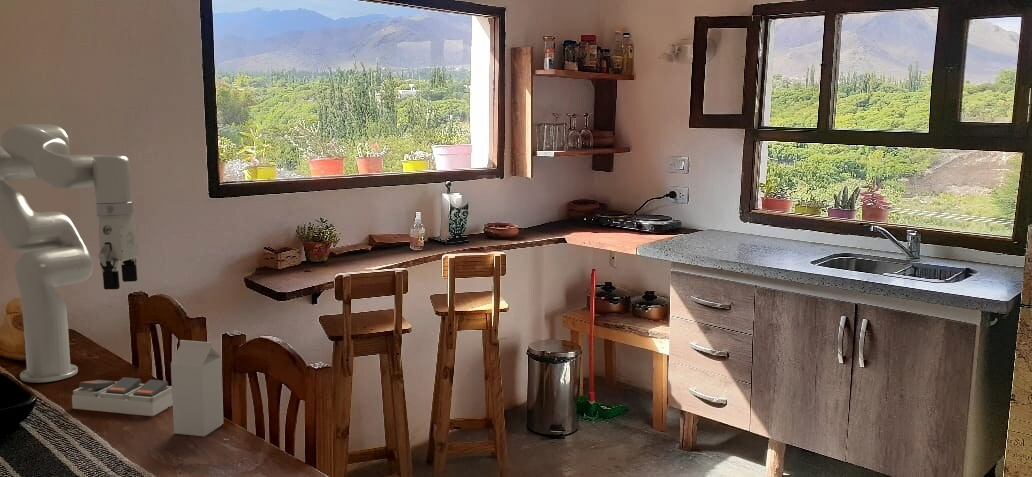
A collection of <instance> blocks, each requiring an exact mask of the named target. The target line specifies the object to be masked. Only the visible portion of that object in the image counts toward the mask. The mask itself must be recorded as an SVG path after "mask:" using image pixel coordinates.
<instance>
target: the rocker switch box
mask: <svg viewBox="0 0 1032 477" xmlns="http://www.w3.org/2000/svg"><path fill="white" fill-rule="evenodd" d="M117 382H118V381H116V380H115V383H117ZM144 384H145V383H140V384H139V385H138V386H137V387H135V388H134V389H133V390H132V391H130V392H128V393H126V394H113V393H106V390H108V389H109V388H110V387H112V386H113V385H114V384H113V385H111V386H109V387H104V388H98V389H94V388H83V387H78V388H75V389H74V390H72V395H71V403H72V404H71V405H72V409H74V410H85V411H96V412H103V413H104V412H107V413H116V414H117V413H118V414H125V415H136V416H148V417H154V416H156V415H157V414H159V413H161V412H163V411H165V410H167V409H169V408H171V407H173V401H172V385H170V386H169V385H168V386H166V387H165V388H164V389H163V390H162V391H161V392H159V393H158V394H157V395H155V396H153V397H146V396H135V395H134V394H133V393H134V392H136V391H137V390H138V389H139V388H140V387H142V386H143V385H144ZM168 407H169V408H168Z"/></svg>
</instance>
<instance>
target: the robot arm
mask: <svg viewBox="0 0 1032 477" xmlns="http://www.w3.org/2000/svg"><path fill="white" fill-rule="evenodd" d="M69 139H70V138H69V136H68V134H67V133H66V131H65V130H64V129H63V128H62V127H61V126H59V125H56V124H48V123H47V124H46V123H45V124H44V123H41V124H40V123H39V124H36V123H35V124H33V123H32V124H31V123H30V124H22V123H21V124H14V125H11V126H10V127H8V128H6V129H5V130H4V131H3V132H2V134H1V137H0V143H1V144H0V145H1V146H0V236H1V237H2V239H3V240H4V243H5V244H6V246H7V247H8V248H9V249H10V250H11V251H13V252H16V253H24V254H22V255H20V256H19V257H18V258H17V259H16V261H15V263H14V269H13V270H14V276H15V280H16V282H17V287H18V289H19V290H18V291H19V293H20V294H19V295H20V301H21V312H22V321H23V334H24V335H23V336H24V337H23V338H24V348H25V363H26V369H25V370H22V371H21V372H20V373H19V379H20V380H21V381H22V382H26V383H32V384H33V383H39V384H40V383H50V382H57V381H60V380H65V379H69V378H71V377H73V376H75V375H77V373H78V372H79V369H78V368H79V367H78V366H77V365H75V364H72V363H71V355H70V353H71V352H70V351H71V350H70V339H69V338H70V337H69V321H68V320H69V319H68V307H67V303H66V301H65V299H64V298H63V296H62V295H61V294H60V293H59V292H58V290H57V289H56V288H58V287H62V286H63V287H64V286H68V285H72V284H73V285H74V284H79V283H82V282H85V281H87V280H89V279H90V277H92V275H93V272H94V261H93V258H92V256H91V252H89V250H88V247H87V245H86V244H85V243H84V241H83V238H82V237H81V235H80V233H79V231H78V229H77V227H76V225H75V224H74V223H73V220H71V218H70V217H69V216H68V215H67V214H65V213H63V212H60V211H42V212H37V211H35V210H33V209H32V208H31V206H30V205H29V202H28V201H27V198H26V197H25V196H24V195H23V194H22V193H21V192H20V191H18V190H17V189H16V188H15V187H13V186H11V185H9V184H8V183H6V181H21V180H35V179H38V180H40V181H41V182H43V183H44V184H46V185H49V186H51V187H53V188H57V189H61V190H75V189H93V188H94V198H95V201H94V202H95V208H96V209H95V210H96V218H97V219H98V222H99V223H98V243H99V253H98V258H99V262H100V263H99V265H100V267H101V272H102V280H103V289H104V290H107V291H108V290H118V289H120V275H119V270H117V269H118V265H119V261H120V262H121V263H122V264H121V275H122V276H121V278H122V282H124V283H126V282H127V283H128V282H130V283H131V282H137V281H138V270H137V257H139V256H138V255H139V253H140V252H139V243H138V235H137V234H138V233H137V229H136V222H135V219H134V216H135V214H134V203H133V202H134V201H133V190H132V189H133V187H132V178H131V176H132V175H131V165H130V164H131V163H130V160H129V158H128V157H127V156H125V155H107V154H72V155H71V154H70V140H69Z"/></svg>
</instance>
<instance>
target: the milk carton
mask: <svg viewBox="0 0 1032 477" xmlns="http://www.w3.org/2000/svg"><path fill="white" fill-rule="evenodd" d="M222 372H223V371H222V356H221V355H220V354H219V353H218V352H217V351H216V350H215V349H214V348H213V347H212V342H208V341H197V340H185V339H180V340H179V346H178V349H177V351H176V353H175V354H174V356H173V358H172V360H171V362H170V378H171V386H172V401H173V405H172V419H173V434H174V435H175V434H176V435H186V436H187V435H189V436H197V437H206V436H207V435H210V434H211V433H213V432H214V431H215V430H216V429H219V428H220V427H221V426H223V425H224V404H223V403H224V402H223V401H224V400H223V399H224V398H223V375H222V374H223V373H222ZM222 424H223V425H222Z"/></svg>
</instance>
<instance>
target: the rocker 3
mask: <svg viewBox="0 0 1032 477" xmlns="http://www.w3.org/2000/svg"><path fill="white" fill-rule="evenodd" d="M143 384H144V385H143V386H142V387H140V388H139V389H138V390H137V391H136V392H134V393H133V394H134V395H135V396H146V397H153V396H155V395H157V394H158V393H159V392H161V391H162V390H163V389H164V388H165V387H166V386H169V382H168V380H159V379H149V380H147V381H146V382H145V383H143Z"/></svg>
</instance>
